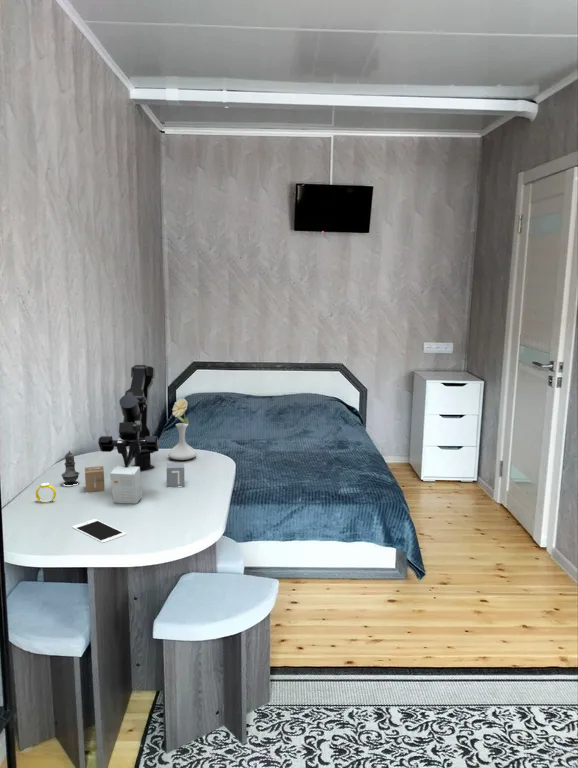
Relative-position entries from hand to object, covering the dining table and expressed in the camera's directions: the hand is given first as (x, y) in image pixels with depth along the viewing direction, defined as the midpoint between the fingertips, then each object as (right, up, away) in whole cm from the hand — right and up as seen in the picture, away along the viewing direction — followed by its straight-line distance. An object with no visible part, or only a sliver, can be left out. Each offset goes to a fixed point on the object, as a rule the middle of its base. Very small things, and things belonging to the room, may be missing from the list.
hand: (126, 466), depth 193 cm
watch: (-26, -11, 0) cm, 28 cm away
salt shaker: (-24, -9, +17) cm, 30 cm away
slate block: (+12, -9, +18) cm, 23 cm away
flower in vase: (+10, -4, +48) cm, 49 cm away
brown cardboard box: (-14, -9, +12) cm, 21 cm away
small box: (0, -11, +2) cm, 11 cm away
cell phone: (-2, -16, -21) cm, 27 cm away
